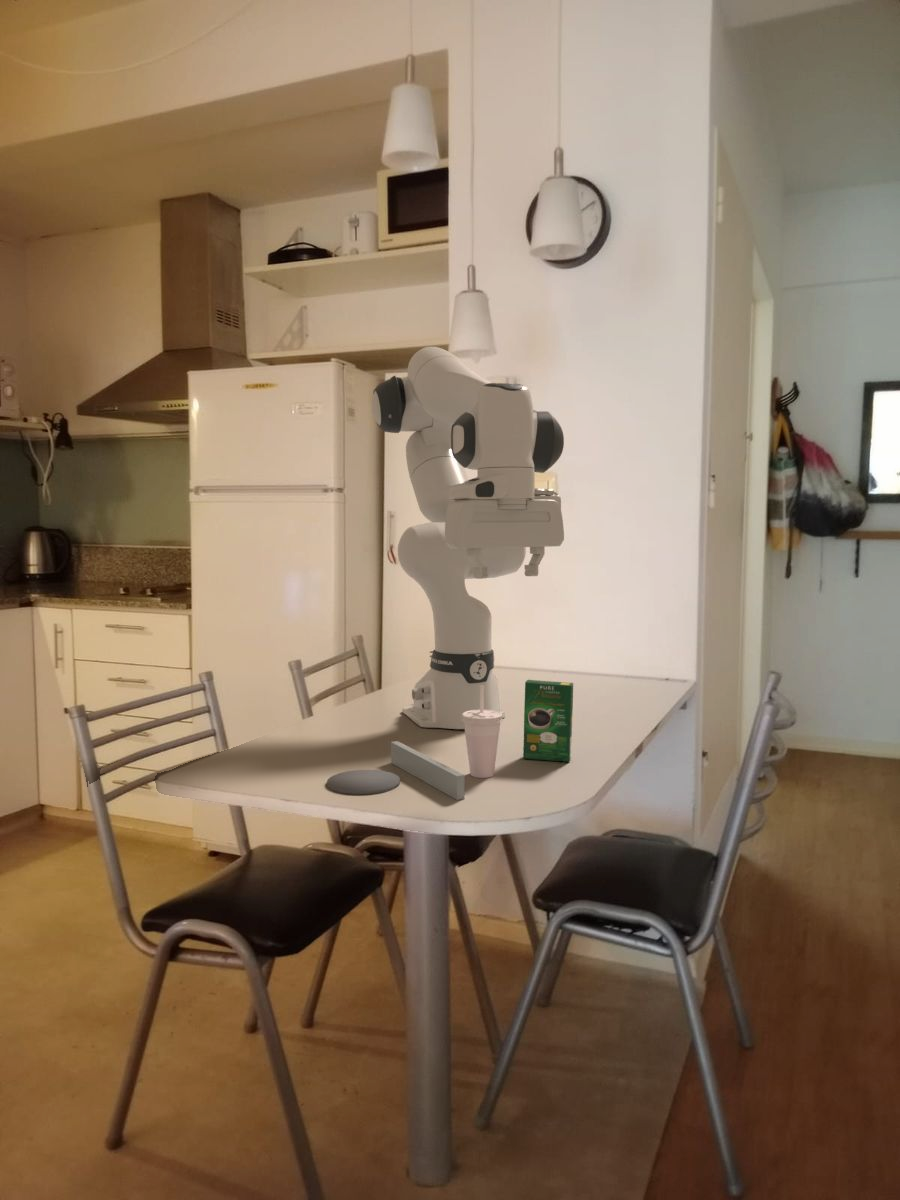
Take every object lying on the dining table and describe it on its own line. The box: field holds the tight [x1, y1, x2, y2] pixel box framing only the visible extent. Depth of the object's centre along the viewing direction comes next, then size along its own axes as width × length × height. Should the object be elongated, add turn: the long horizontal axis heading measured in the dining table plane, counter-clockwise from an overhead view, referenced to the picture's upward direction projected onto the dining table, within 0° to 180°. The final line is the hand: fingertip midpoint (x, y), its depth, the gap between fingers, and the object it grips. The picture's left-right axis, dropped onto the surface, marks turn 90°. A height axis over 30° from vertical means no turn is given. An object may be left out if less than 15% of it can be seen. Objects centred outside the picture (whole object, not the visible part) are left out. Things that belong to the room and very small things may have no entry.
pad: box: [326, 769, 401, 796], centre depth 137 cm, size 11×11×1 cm
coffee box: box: [522, 679, 574, 763], centre depth 149 cm, size 8×3×13 cm, turn 75°
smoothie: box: [462, 685, 503, 779], centre depth 140 cm, size 6×6×14 cm
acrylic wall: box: [390, 740, 465, 801], centre depth 138 cm, size 22×1×4 cm, turn 29°
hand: (506, 577), depth 140 cm, fingers open, 8 cm apart
